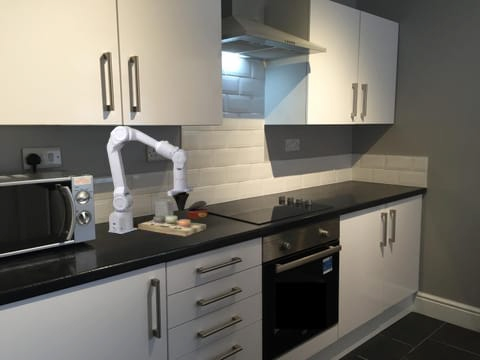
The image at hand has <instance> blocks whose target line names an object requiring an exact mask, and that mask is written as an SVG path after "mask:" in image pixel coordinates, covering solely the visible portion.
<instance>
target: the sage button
mask: <svg viewBox="0 0 480 360" xmlns="http://www.w3.org/2000/svg"><path fill="white" fill-rule="evenodd" d="M178 219H179V218H178V215H174V214H173V215H172V216H166V222H169V223H173V222H177V221H179V220H178Z"/></svg>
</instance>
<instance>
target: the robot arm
mask: <svg viewBox="0 0 480 360" xmlns="http://www.w3.org/2000/svg"><path fill="white" fill-rule="evenodd" d="M130 141H139V142H141V143H143V144H145V145H147V146H149V147H152V148H154V149H155V152H156V153H157V154H159V155H160V156H162V157H164V158H166V159H169V160H172V163H173V170H172V171H173V189H170V190H167V197H173V199H174V201H175V204H176V207H177V211H179V212H183V211H185V208H186V207H185V206H186V203H187V200H188V198H189V196H190V193H192V192H194V187H193V186H188V164H187V161H188V158H189V157H188V153H187V151H185V150H184V149H181V148H180V147H179V146H174V145H172V144H170V142H169V141H168V140H160V141H158V140H157V139H155V138H153V137H151V136H149V135H148V134H146V133H144V132H142V131H140V130H138V129H137V128H132V127H130V126H127V125H125V126H122V125H120V126H116V127H115V128H114V129H113V130H112V131H111V132H110V137H109V139H108V143H107V144H106V151H107V156H108V161H109V162H108V163H109V166H110V172H111V177H112V181H113V186H114V190H113V195H112V196H113V201H112V206H113V208H114V211H113V212H111V213H110V214H109V217H108V220H109V221H108V223H109V225H108V226H109V230H108V233H113V234H120V235H123V234H126V233H130V232H132V231H137V230H139V229H138V227H134V215H133V213H134V212H133V207H132V205H133V204H134V197H133V195H132V194H131V192H130V189H129V187H128V185H127V180H126V175H125V168H124V163H123V158H122V153H121V149H122V148H123V147H124V146H125V144H127V143H128V142H130Z"/></svg>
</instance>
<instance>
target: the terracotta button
mask: <svg viewBox="0 0 480 360" xmlns="http://www.w3.org/2000/svg"><path fill="white" fill-rule="evenodd" d="M178 221H179V226H190V225H191V223H192V222H191V219H189V218H183V219H179V220H178Z"/></svg>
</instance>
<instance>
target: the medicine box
mask: <svg viewBox="0 0 480 360" xmlns="http://www.w3.org/2000/svg"><path fill="white" fill-rule="evenodd" d="M154 208H155V209H154V210H155V216H165V219H166V216H172V215H173V216H174V201H173V200H172V199H166V198H165V199H164V198H160V199H156V200H154ZM155 216H154V217H155Z"/></svg>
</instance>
